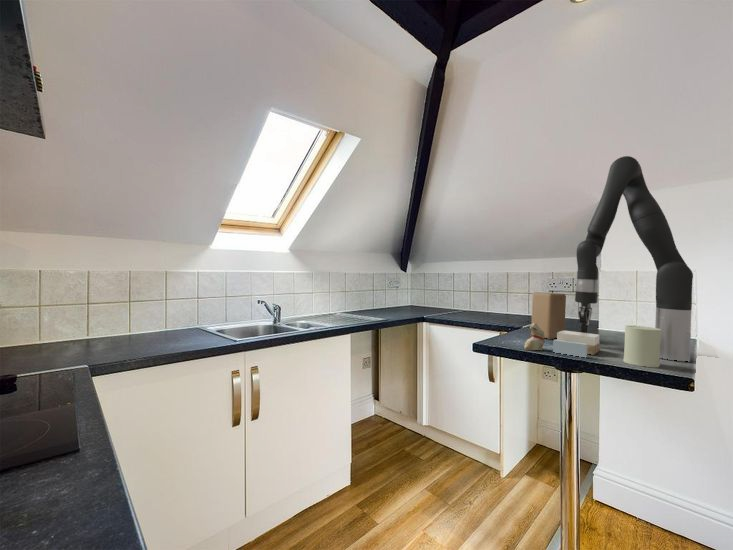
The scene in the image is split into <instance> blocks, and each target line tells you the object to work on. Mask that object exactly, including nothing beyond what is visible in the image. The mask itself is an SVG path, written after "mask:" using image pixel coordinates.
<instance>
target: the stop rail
mask: <svg viewBox="0 0 733 550" xmlns="http://www.w3.org/2000/svg"><path fill="white" fill-rule="evenodd" d="M552 340H553V342H552V353H553V352H555V353H554V354H556V353H561V354H560V355H563V354H567V355H566V356H569V355H573V356H572V357H575V356H579V357H578V358H581V357H585V358H584V359H587V358H588V354H587V348H588V344H583V343H576V342H569V341H562V340H557V339H552ZM586 357H587V358H586Z"/></svg>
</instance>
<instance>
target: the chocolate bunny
mask: <svg viewBox="0 0 733 550" xmlns="http://www.w3.org/2000/svg"><path fill="white" fill-rule="evenodd" d="M531 324H532V323H531ZM529 330H530V332H531V331H532V333H533V336H532V335H531V336H530V338H528V339H526V341H525V343H524V348H523V349H524V350H525V351H530V350H541V351H543V350H544V348H543V346H544V344H545V339H544V338H545V336H544V331H542V330H541V329H540V328H539V327H538V325H537V324H536V323H533V324H532V326H531V325H530V326H529ZM542 349H543V350H542Z"/></svg>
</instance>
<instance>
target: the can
mask: <svg viewBox="0 0 733 550" xmlns="http://www.w3.org/2000/svg"><path fill="white" fill-rule="evenodd" d="M660 336H661V329H658V328H655V327H651V326H641V325H625V326H624V348H623V349H624V350H623V351H624V352H623V360H622V362H624V363H626V364H629V365H632V366H638V367H643V366H646V367H645V368H660V367H661V365H660V364H661V363H660V359H661V358H660ZM659 366H660V367H659Z"/></svg>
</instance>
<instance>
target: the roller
mask: <svg viewBox="0 0 733 550" xmlns="http://www.w3.org/2000/svg"><path fill="white" fill-rule="evenodd" d="M589 354H591V355H590V356H594V355H596V354H595V346H591V345H588V348H587V355H589Z"/></svg>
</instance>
